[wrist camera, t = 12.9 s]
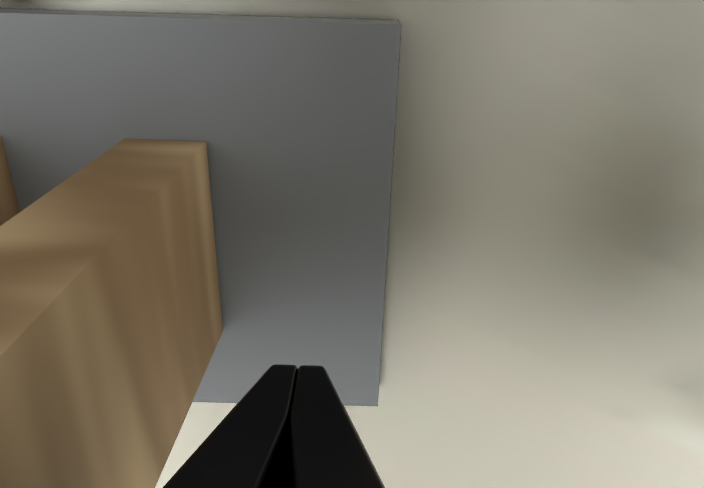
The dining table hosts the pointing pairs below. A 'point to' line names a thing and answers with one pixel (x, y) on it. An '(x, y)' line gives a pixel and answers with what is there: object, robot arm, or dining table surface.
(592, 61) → the dining table surface
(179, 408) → the domino
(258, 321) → the mat
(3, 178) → the domino
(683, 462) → the dining table surface
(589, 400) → the dining table surface
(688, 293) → the dining table surface
